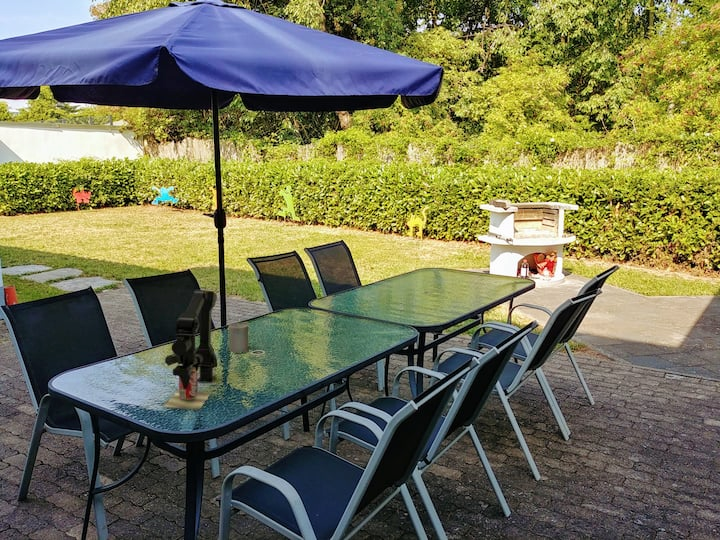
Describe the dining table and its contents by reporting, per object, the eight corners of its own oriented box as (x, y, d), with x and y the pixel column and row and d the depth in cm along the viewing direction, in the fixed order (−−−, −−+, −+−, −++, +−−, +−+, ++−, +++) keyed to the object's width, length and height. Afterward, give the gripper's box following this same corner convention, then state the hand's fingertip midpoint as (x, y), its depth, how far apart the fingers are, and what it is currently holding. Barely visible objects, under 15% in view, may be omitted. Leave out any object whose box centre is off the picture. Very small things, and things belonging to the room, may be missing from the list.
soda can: (199, 394, 240) (199, 365, 238) (195, 400, 233) (195, 371, 231) (181, 393, 240) (181, 365, 238) (177, 400, 233) (176, 371, 231)
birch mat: (178, 392, 245) (178, 390, 245) (211, 394, 244) (211, 392, 244) (163, 407, 229) (163, 406, 229) (199, 409, 228) (199, 408, 228)
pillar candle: (238, 346, 308) (238, 319, 306) (252, 350, 303) (252, 322, 300) (224, 351, 300) (224, 322, 298) (238, 355, 295) (238, 326, 292)
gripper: (175, 339, 242) (176, 375, 245) (158, 353, 224) (159, 393, 227) (202, 340, 242) (203, 377, 245) (187, 355, 224) (188, 394, 226)
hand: (188, 385), depth 236 cm, fingers closed on soda can, 7 cm apart
